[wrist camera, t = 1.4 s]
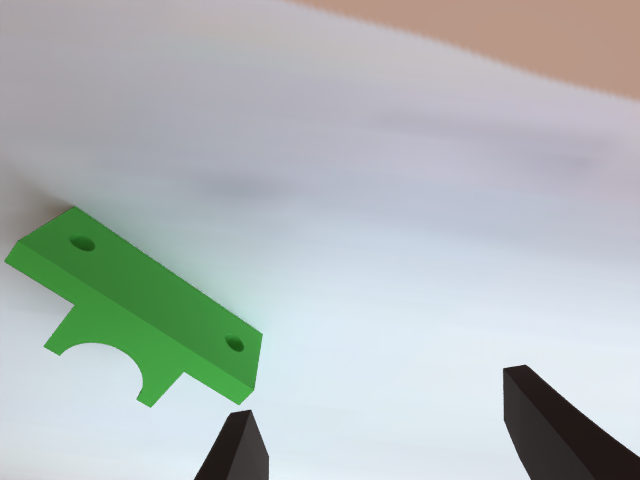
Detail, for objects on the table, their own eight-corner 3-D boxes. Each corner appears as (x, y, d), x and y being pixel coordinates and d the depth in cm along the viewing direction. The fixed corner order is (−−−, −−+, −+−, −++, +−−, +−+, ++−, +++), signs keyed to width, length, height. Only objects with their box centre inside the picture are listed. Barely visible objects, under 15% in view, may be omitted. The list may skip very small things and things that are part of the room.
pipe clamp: (39, 259, 21) (-29, 306, 17) (77, 204, 20) (16, 239, 16) (222, 376, 24) (204, 441, 20) (263, 332, 23) (254, 392, 19)
